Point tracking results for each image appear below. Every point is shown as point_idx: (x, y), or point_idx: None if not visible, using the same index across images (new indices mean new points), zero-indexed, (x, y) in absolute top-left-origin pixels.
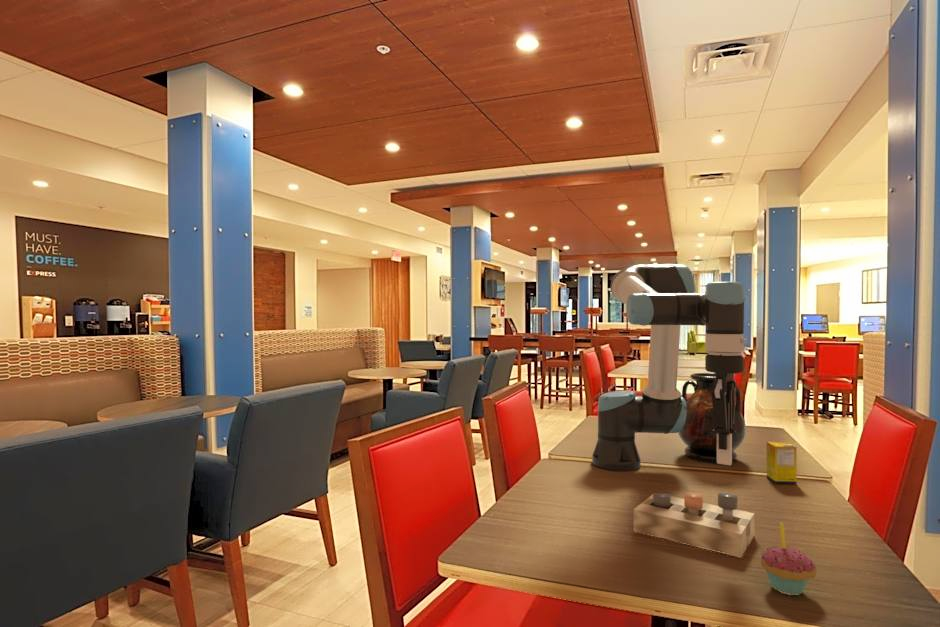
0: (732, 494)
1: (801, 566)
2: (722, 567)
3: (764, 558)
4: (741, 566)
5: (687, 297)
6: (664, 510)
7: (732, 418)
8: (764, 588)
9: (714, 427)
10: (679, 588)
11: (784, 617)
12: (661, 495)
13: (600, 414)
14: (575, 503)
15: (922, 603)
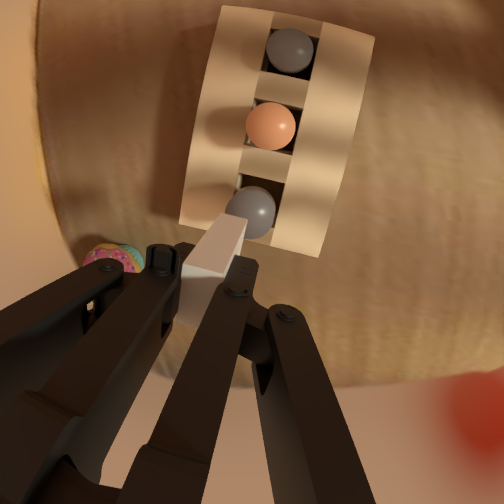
0: (263, 228)
1: None
2: (148, 181)
3: (93, 251)
4: (166, 209)
5: None
6: (247, 63)
7: (259, 394)
8: (116, 235)
9: (85, 268)
10: (66, 135)
11: (69, 248)
12: (291, 47)
13: None
14: None
15: None
